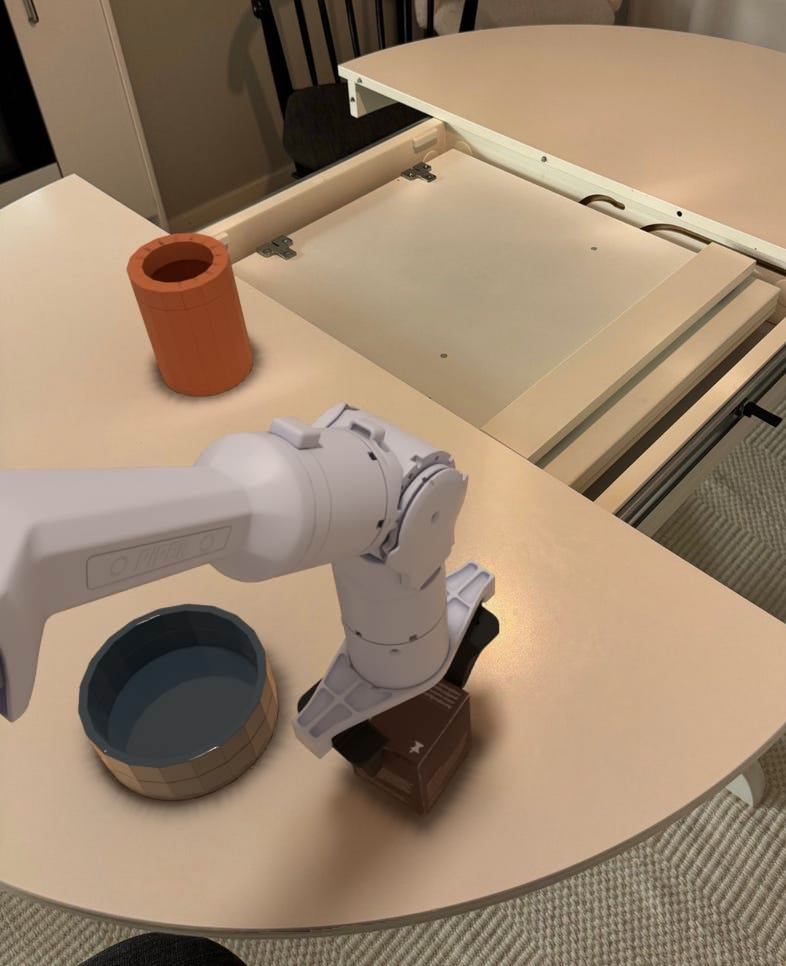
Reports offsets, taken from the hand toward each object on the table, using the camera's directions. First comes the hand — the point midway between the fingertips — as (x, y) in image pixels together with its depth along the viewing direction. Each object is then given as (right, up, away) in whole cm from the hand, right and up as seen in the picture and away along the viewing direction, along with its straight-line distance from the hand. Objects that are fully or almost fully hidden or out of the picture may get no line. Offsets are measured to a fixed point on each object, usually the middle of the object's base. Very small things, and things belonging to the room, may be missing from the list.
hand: (408, 721), depth 61 cm
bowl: (-16, -1, +6) cm, 17 cm away
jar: (-22, +27, +31) cm, 46 cm away
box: (0, -4, +4) cm, 6 cm away
